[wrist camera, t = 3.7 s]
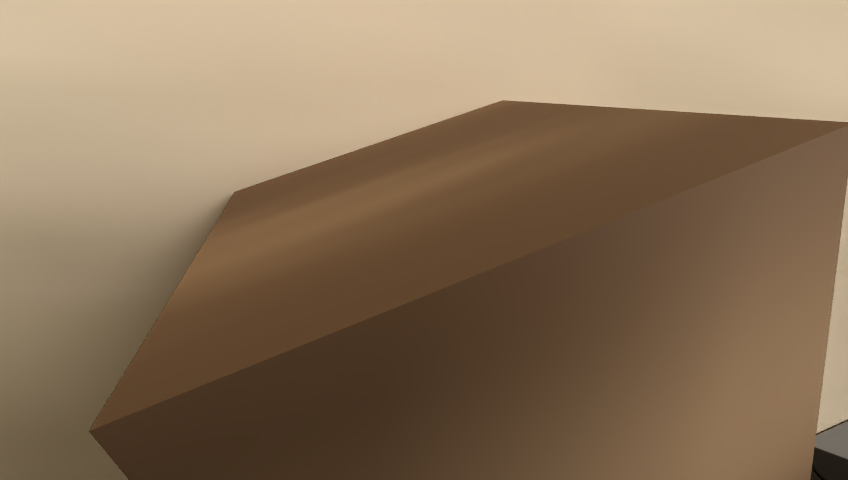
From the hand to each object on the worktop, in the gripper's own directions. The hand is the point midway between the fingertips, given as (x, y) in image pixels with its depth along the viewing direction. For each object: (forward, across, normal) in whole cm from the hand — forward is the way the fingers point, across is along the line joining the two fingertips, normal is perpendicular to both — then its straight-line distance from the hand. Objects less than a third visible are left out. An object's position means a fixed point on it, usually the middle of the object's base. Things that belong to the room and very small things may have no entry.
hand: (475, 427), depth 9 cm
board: (+1, 0, 0) cm, 1 cm away
